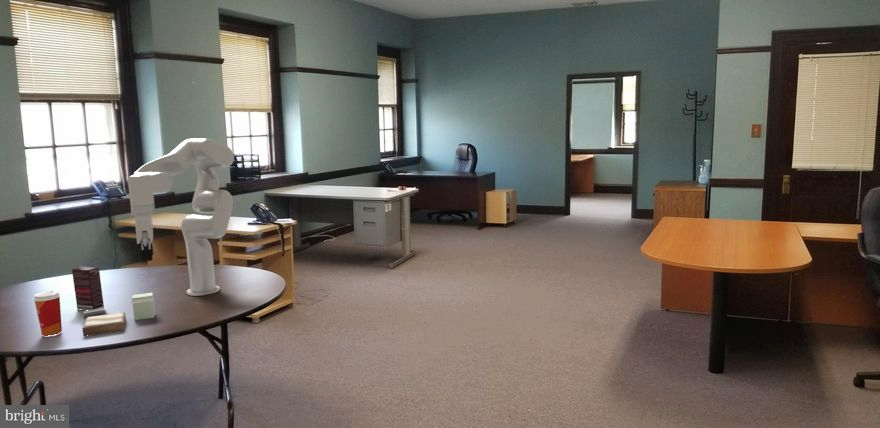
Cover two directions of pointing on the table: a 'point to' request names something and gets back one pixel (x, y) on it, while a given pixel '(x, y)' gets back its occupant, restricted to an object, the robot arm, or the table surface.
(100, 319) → the wooden tray
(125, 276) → the table surface
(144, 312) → the carton
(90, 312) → the gray box
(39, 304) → the paper cup
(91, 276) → the supplement box
